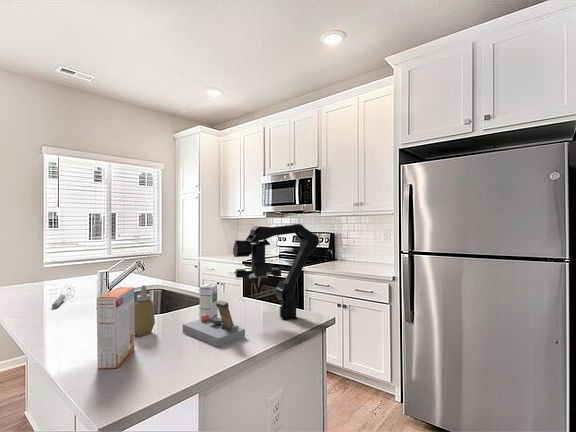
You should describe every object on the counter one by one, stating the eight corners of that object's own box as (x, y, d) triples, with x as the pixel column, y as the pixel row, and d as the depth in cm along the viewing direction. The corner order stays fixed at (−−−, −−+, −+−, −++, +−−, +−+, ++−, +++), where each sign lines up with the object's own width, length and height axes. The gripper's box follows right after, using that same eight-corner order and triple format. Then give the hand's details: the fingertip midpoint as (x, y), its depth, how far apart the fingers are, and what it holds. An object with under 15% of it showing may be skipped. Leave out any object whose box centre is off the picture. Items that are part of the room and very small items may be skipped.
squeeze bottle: (131, 338, 120) (132, 288, 120) (130, 331, 127) (131, 284, 127) (156, 335, 123) (156, 286, 123) (153, 328, 131) (154, 282, 131)
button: (205, 319, 133) (205, 313, 133) (210, 320, 131) (210, 314, 131) (199, 321, 131) (199, 314, 131) (203, 322, 129) (203, 316, 129)
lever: (227, 326, 123) (219, 300, 121) (235, 329, 120) (227, 302, 118) (223, 329, 122) (215, 303, 119) (231, 332, 119) (223, 305, 116)
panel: (208, 324, 136) (208, 312, 136) (245, 337, 122) (245, 324, 122) (182, 332, 127) (182, 319, 127) (218, 347, 112) (218, 333, 112)
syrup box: (212, 321, 140) (212, 286, 140) (199, 320, 141) (199, 286, 141) (217, 317, 146) (217, 284, 146) (205, 316, 147) (205, 283, 147)
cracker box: (116, 350, 109) (116, 286, 110) (135, 349, 110) (135, 286, 110) (95, 369, 96) (95, 296, 96) (117, 369, 96) (117, 296, 96)
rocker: (218, 322, 129) (219, 319, 130) (224, 324, 127) (224, 321, 127) (207, 321, 126) (208, 318, 126) (213, 323, 123) (214, 320, 124)
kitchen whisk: (45, 310, 155) (46, 297, 155) (63, 295, 186) (63, 284, 186) (61, 309, 157) (61, 296, 157) (76, 294, 188) (76, 283, 188)
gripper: (237, 258, 130) (237, 299, 130) (284, 258, 134) (284, 296, 134) (235, 255, 140) (234, 292, 140) (278, 254, 145) (278, 290, 145)
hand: (258, 293), depth 140 cm, fingers closed
